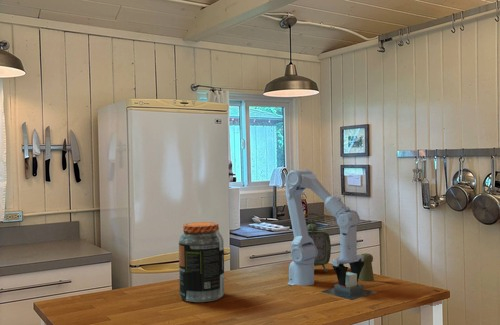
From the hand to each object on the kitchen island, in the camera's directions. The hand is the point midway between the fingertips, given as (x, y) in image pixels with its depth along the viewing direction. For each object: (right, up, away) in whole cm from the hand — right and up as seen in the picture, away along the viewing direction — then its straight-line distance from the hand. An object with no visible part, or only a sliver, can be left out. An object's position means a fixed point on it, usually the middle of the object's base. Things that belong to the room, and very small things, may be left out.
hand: (348, 283), depth 176 cm
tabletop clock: (-8, -4, +36) cm, 37 cm away
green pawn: (+10, -4, +18) cm, 21 cm away
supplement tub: (-52, -5, -1) cm, 52 cm away
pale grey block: (0, -3, 0) cm, 3 cm away
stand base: (0, -4, 0) cm, 4 cm away
